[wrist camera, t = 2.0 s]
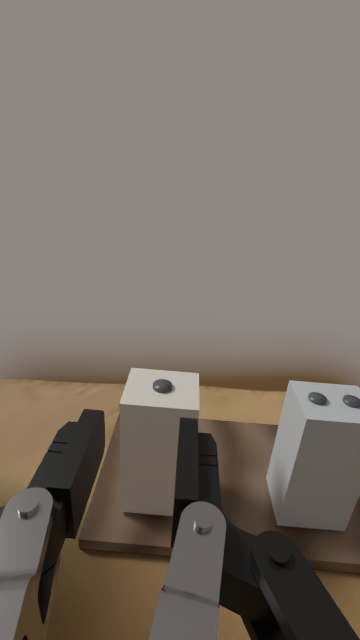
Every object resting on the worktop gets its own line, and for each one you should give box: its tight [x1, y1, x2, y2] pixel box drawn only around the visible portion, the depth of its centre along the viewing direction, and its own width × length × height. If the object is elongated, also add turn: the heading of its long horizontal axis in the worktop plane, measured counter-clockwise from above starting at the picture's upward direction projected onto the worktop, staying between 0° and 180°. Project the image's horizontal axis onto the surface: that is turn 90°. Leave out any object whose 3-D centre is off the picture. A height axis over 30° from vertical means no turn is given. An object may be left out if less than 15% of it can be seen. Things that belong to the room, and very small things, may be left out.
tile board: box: [79, 413, 360, 573], centre depth 35 cm, size 26×16×1 cm, turn 87°
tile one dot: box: [119, 368, 199, 516], centre depth 29 cm, size 6×5×12 cm
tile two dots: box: [266, 381, 360, 531], centre depth 29 cm, size 6×5×12 cm
